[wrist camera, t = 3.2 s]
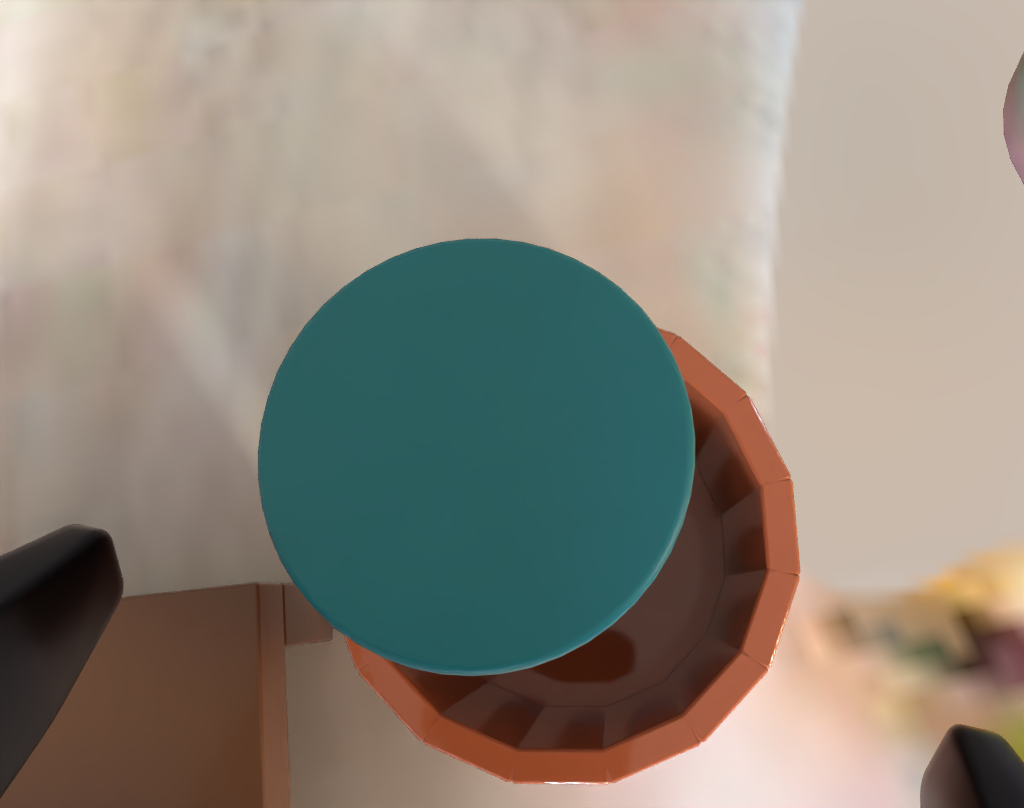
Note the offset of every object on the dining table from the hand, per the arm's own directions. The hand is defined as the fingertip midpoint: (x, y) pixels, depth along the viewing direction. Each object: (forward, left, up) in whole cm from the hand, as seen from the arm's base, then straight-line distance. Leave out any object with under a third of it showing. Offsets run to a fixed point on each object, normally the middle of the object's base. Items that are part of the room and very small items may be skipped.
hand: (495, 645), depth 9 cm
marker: (+1, +1, -9) cm, 10 cm away
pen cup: (+1, +1, -10) cm, 10 cm away
